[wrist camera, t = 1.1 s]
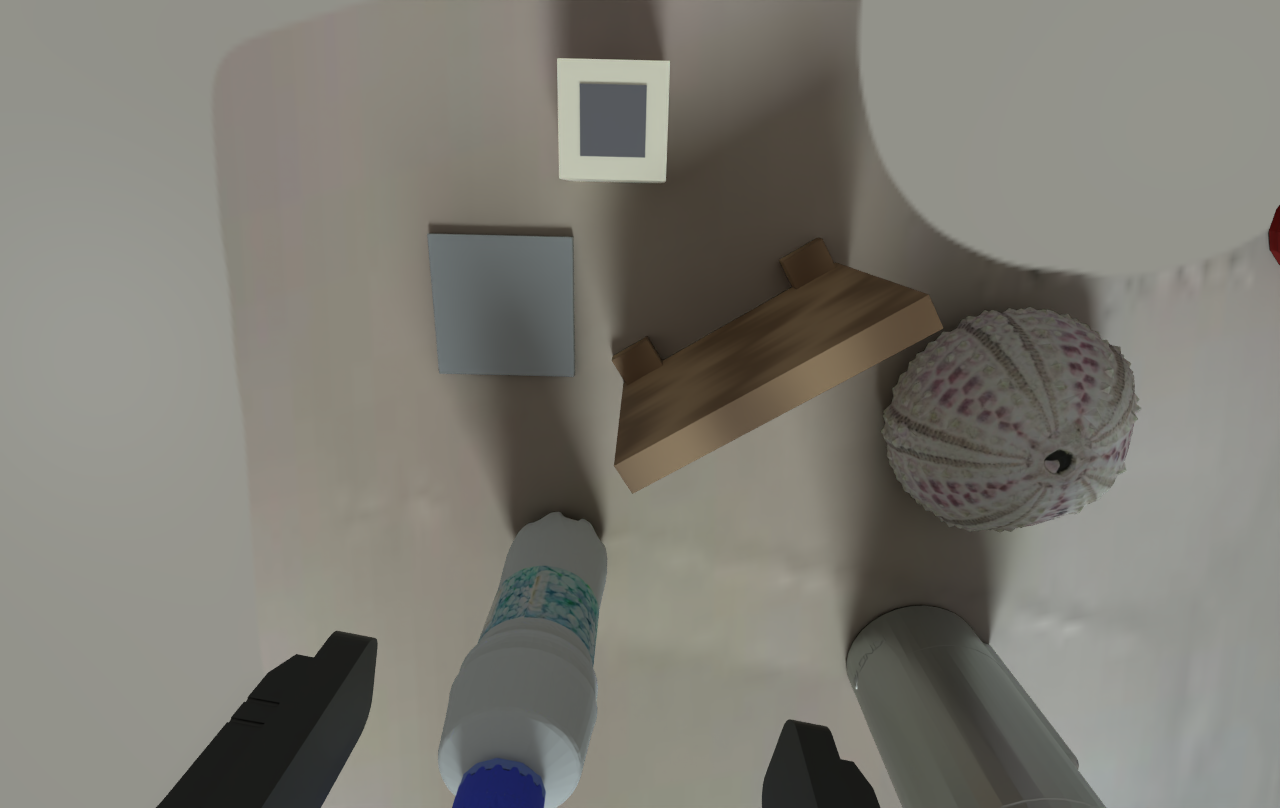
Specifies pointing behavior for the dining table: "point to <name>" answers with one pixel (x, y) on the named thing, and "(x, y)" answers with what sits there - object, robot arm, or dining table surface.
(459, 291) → the slate coaster
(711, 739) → the dining table surface
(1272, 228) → the plastic cup
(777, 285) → the dining table surface
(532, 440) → the dining table surface
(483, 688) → the bottle
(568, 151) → the white marker cube
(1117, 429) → the sea urchin shell
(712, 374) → the walnut screen
